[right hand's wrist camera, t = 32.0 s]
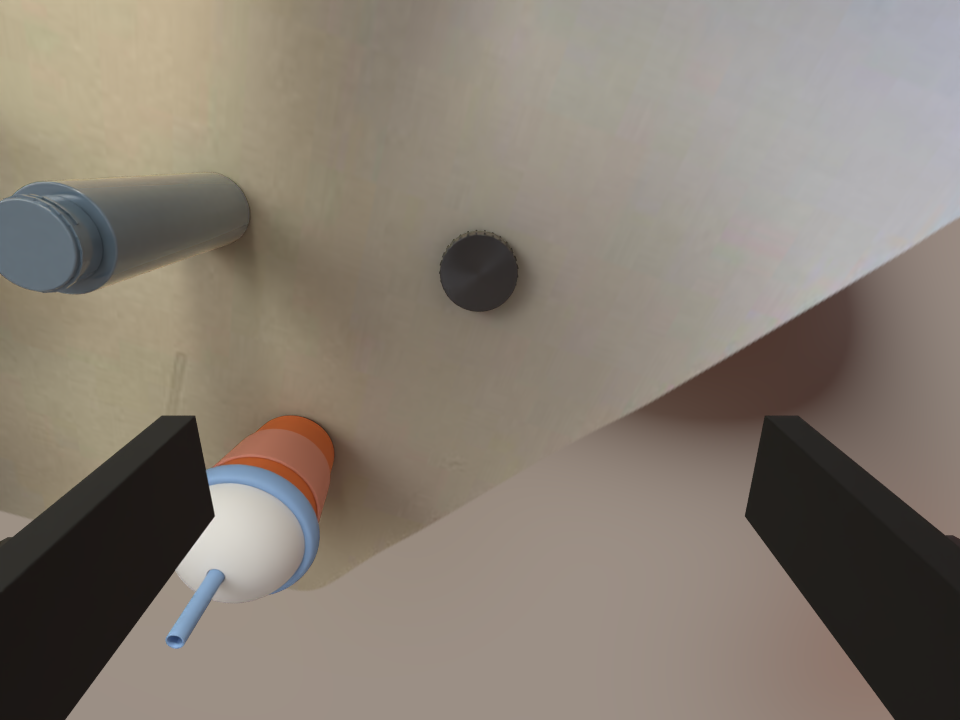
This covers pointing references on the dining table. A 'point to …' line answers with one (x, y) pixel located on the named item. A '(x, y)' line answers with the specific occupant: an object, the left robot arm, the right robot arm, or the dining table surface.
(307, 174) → the dining table surface
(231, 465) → the cup with straw
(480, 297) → the lid
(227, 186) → the blue-gray bottle
